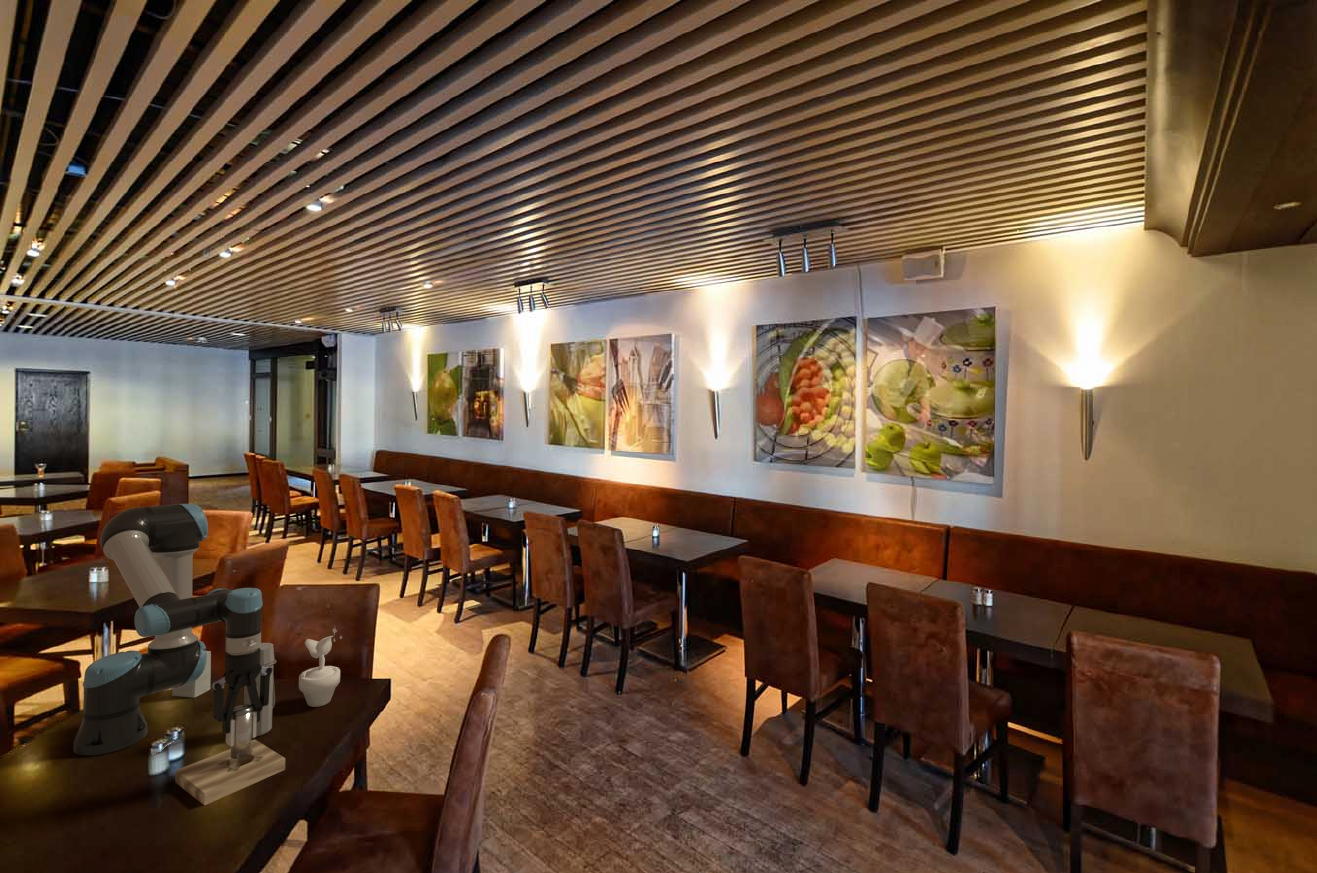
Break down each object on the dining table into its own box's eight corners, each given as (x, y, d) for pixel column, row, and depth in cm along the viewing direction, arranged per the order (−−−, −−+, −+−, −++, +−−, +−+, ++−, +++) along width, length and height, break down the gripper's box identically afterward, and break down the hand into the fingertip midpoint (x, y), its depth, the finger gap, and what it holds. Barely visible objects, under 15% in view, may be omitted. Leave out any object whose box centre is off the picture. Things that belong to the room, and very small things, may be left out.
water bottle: (258, 740, 169) (260, 652, 169) (234, 736, 171) (237, 649, 170) (284, 724, 178) (286, 641, 178) (262, 721, 180) (264, 638, 179)
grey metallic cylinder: (227, 755, 153) (228, 709, 153) (246, 747, 157) (247, 702, 157) (235, 761, 151) (236, 713, 151) (254, 753, 155) (255, 707, 154)
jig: (175, 782, 149) (175, 770, 149) (254, 750, 164) (254, 739, 164) (204, 805, 140) (204, 793, 140) (285, 769, 156) (285, 758, 156)
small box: (210, 689, 199) (211, 650, 199) (194, 698, 193) (195, 658, 192) (188, 687, 200) (189, 649, 200) (171, 696, 193) (172, 656, 193)
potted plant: (346, 701, 194) (349, 625, 194) (310, 715, 185) (312, 634, 184) (325, 690, 201) (327, 617, 201) (289, 703, 191) (291, 626, 191)
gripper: (210, 664, 144) (208, 760, 145) (286, 643, 159) (284, 730, 159) (196, 657, 148) (194, 750, 148) (272, 637, 163) (270, 722, 163)
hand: (241, 739), depth 154 cm, fingers closed on grey metallic cylinder, 4 cm apart
